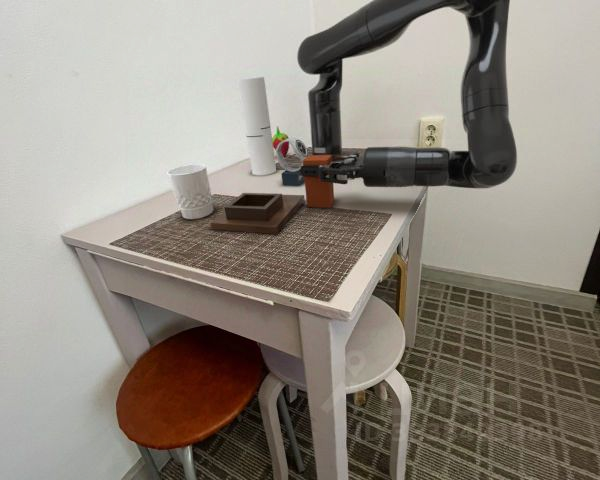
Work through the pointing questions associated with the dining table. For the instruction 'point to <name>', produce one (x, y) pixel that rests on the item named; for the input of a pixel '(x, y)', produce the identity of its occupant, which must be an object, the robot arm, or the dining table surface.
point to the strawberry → (278, 139)
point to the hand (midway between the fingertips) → (305, 167)
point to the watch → (292, 173)
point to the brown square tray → (258, 213)
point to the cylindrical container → (257, 125)
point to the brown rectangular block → (318, 184)
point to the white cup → (191, 190)
